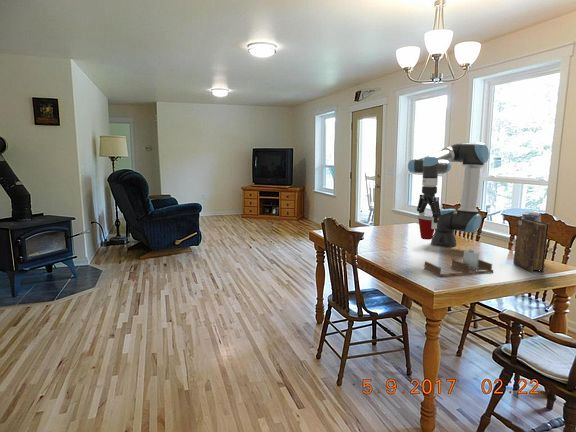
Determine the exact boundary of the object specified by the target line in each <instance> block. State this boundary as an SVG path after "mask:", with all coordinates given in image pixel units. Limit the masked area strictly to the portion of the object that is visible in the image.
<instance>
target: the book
mask: <svg viewBox="0 0 576 432" xmlns="http://www.w3.org/2000/svg"><path fill="white" fill-rule="evenodd" d="M549 228H550V223H549V222H544V221H543V222H542V221H541V222H539V221H534V220H530V219H521V218H517V226H516V234H515V235H516V237H515V246H514V254H513V264H514V265H515V266H519V267H521V268H523V269H524V270H526V271H528V272H530V271H531V272H530V273H533V272H534V271H535V270H536V271H538V270H540V271H542V272H541V273H544V272H545V262H546V251H547V250H546V249H547V240H548V236H549V234H548V233H549V230H550V229H549ZM540 271H539V272H540Z"/></svg>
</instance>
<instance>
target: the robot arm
mask: <svg viewBox="0 0 576 432" xmlns="http://www.w3.org/2000/svg"><path fill="white" fill-rule="evenodd" d="M489 158H490V153H489V148H488V146H487V144H486V143H484V142H469V143H467V142H465V143H463V142H461V143H454V144H452V145H449V146H446V147H443V148H441V150H440V151H438V152H434V153H431V154H429V155H427V156H425V157H422V158H418V159H415V158H414V159H410V160H409V161H408V163H407V169H408V172H409V173H412V174H413V173H414V174H422V184H421V185H422V187H421V194H419V200H418V203H417V208H416V211H417V212H418V214H419V215H418V216H426V215H425V213H426V212H425V210H426V208H427V206H428V205H429V206H430V207H429V208H430V211H431V213H432V216H431V217H432V227H431V229H435V230H434V233H433V238H432V239H430V240H431V241H430V244H431V245H434V246H438V247H443V248H445V247H446V248H448V247H449V248H452V247H453V248H454V247H456V246H457V238H456V236H455V231H459V232H464V233H476V232H477V231H478V230H479V228H480V227H481V224H482V215H481V214H479V209H477V204H478V203H477V201H478V195H479V194H478V193H479V185H480V176H481V174H480V173H481V169H482V168H483V167H484V165H485V164H486V163H487V162H488V161H489ZM451 163H462V167H464V171H463V182H462V190H461V199H460V200H461V201H460V206H459V207H458V209H456V208H445V209H444V208H443V209H441V208H440V207H441V206H440V197H439V196H436V194H437V193H438V182H439V181H438V179H439V177H438V176H439V175H443V174H447V173H448V172H449V171H450V170H451V168H452V167H451V165H452V164H451Z"/></svg>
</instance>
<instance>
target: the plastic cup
mask: <svg viewBox="0 0 576 432" xmlns="http://www.w3.org/2000/svg"><path fill="white" fill-rule="evenodd" d="M417 219H418V226H419V232H420V233H419V234H420V239H422V240H432V238H433V235H434V232H435V229H431V227H432V216H431V215H424V216H419V215H417Z"/></svg>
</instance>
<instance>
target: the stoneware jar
mask: <svg viewBox="0 0 576 432" xmlns="http://www.w3.org/2000/svg"><path fill="white" fill-rule="evenodd" d="M462 256H463V258H462V263H464V264H466V265H469V266H470V267H469V270H471V271H476V270H477V271H478V270H479V267H478V260H479V259H480V258H479V257H480V252H479V251H477V250H474V249H472V248H471V249H467V250H463V255H462Z"/></svg>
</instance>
